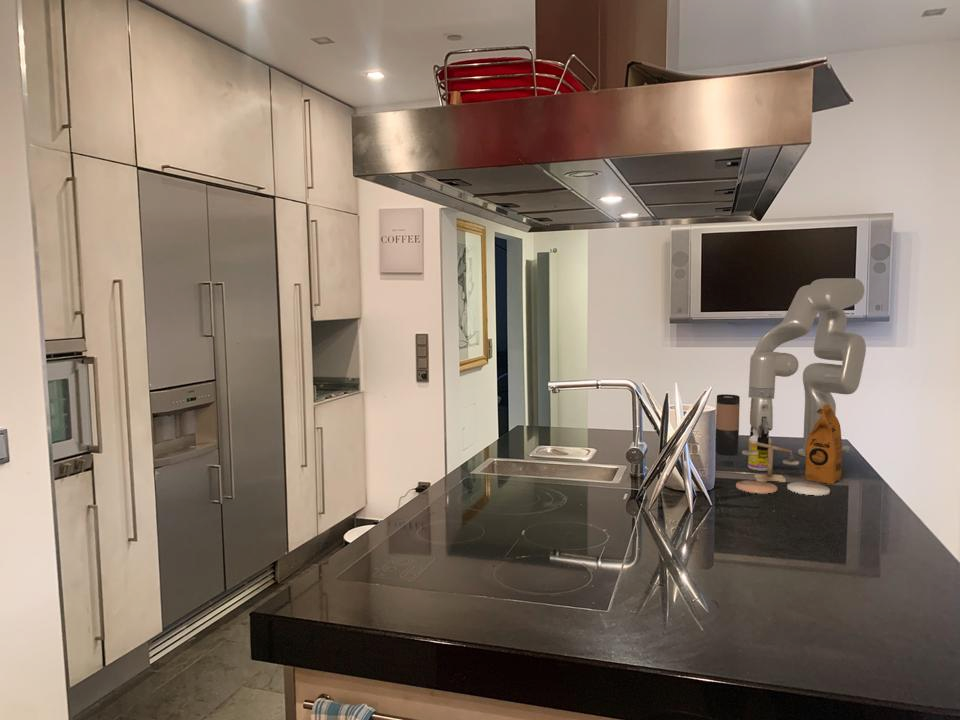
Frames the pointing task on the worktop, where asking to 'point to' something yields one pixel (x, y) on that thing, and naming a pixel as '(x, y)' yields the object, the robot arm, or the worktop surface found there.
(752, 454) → the balance
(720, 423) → the travel mug
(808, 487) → the plate offwhite
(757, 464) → the supplement bottle
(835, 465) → the coffee package
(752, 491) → the plate terracotta
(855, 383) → the robot arm
